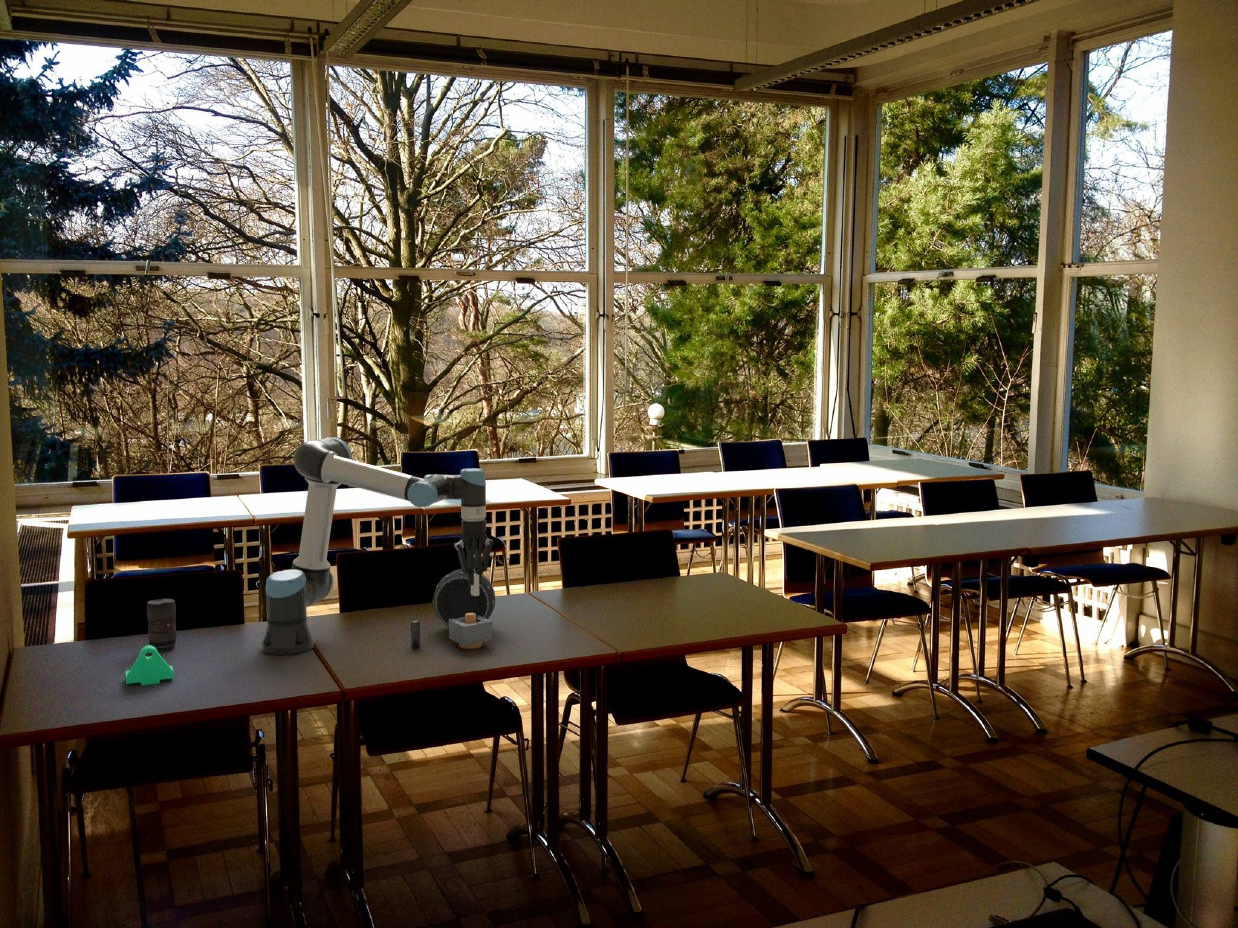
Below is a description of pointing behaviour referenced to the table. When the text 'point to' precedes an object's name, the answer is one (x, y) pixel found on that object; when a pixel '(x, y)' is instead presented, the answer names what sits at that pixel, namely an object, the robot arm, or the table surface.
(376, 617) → the table surface
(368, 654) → the table surface
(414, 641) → the stand rod
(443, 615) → the dark grey round disc
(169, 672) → the camera mount
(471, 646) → the hub
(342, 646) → the table surface
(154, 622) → the dark grey cylinder
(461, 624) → the open grey box
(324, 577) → the robot arm
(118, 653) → the table surface
